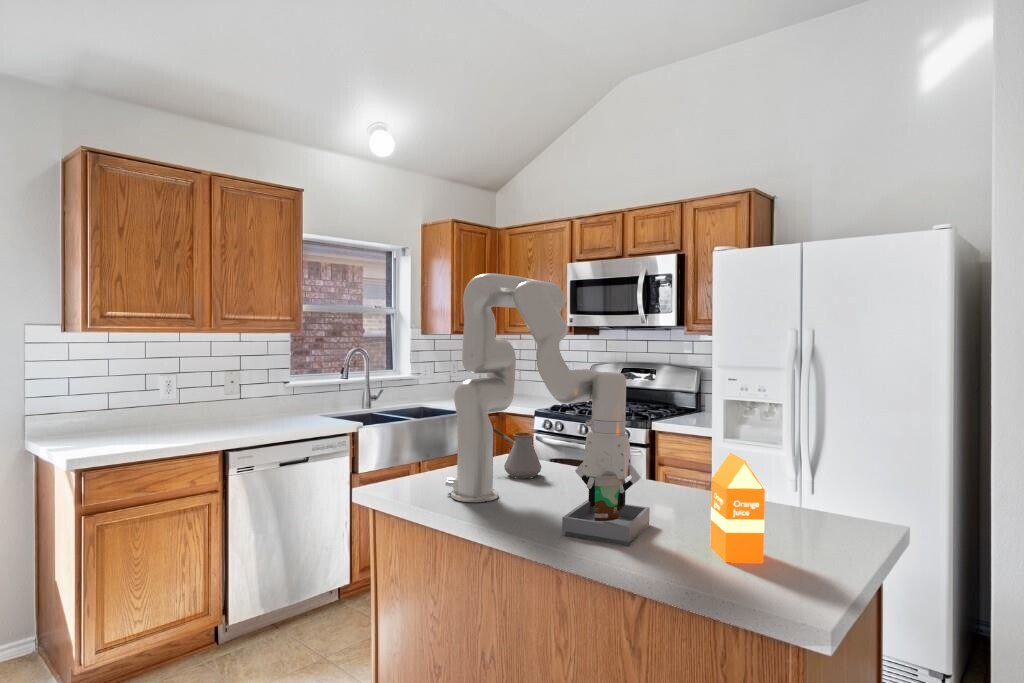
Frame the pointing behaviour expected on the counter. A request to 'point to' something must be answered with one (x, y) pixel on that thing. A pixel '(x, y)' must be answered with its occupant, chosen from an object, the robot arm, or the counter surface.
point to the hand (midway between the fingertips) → (606, 506)
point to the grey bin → (606, 524)
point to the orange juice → (737, 513)
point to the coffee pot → (521, 456)
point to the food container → (606, 497)
